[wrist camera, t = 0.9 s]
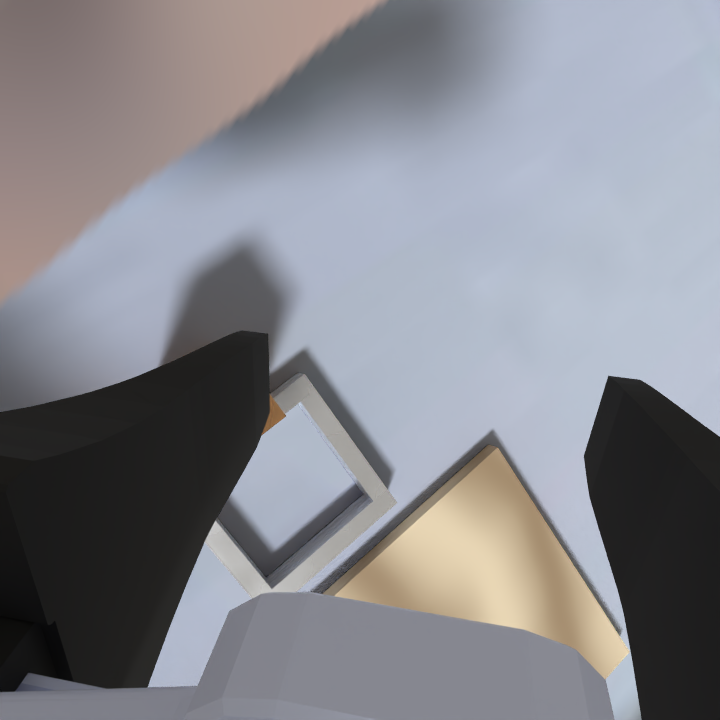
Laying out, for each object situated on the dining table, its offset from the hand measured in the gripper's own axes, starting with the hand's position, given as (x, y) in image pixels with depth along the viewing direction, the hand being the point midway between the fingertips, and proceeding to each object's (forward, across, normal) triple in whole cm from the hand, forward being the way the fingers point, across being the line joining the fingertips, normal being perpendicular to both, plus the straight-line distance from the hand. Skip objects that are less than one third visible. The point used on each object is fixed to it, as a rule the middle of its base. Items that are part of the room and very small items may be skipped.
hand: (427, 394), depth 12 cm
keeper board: (+6, -2, +20) cm, 21 cm away
